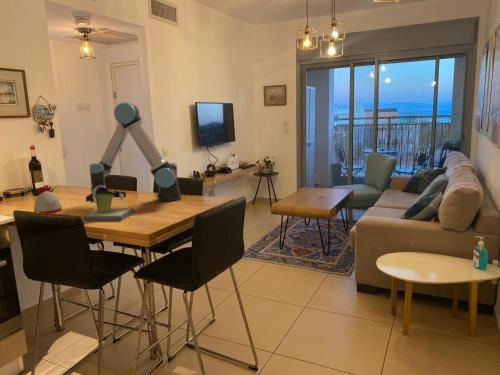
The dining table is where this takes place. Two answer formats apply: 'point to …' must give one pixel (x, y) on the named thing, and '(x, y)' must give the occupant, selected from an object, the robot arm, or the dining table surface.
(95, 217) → the stand
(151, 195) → the dining table surface
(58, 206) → the grey dome
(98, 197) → the plant pot
